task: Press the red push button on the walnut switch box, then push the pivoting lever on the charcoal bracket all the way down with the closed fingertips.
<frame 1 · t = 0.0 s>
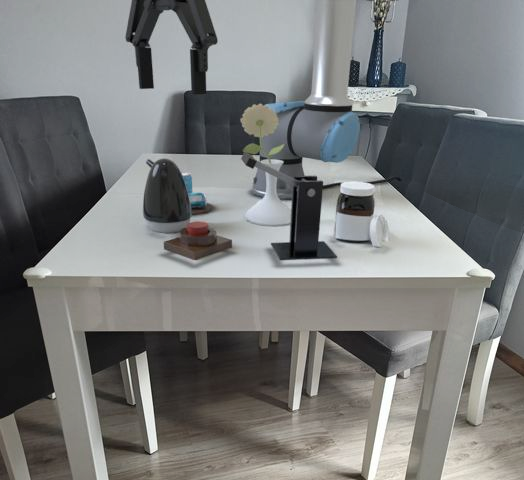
hand: (171, 91, 91), 28 cm above the table, tool pointing down, fingers open, 13 cm apart
teal cans on tray: (188, 209, 130), on the table
pivoting lever: (280, 175, 93), point 15 cm above the table, hinge at 25.0°
switch box: (198, 254, 101), on the table
flower in vase: (266, 224, 120), on the table
pump dispenser: (168, 233, 113), on the table
red push button: (197, 229, 99), point 5 cm above the table, slide at 0.1 cm
lever bracket: (302, 256, 102), on the table
spread jar: (359, 244, 110), on the table
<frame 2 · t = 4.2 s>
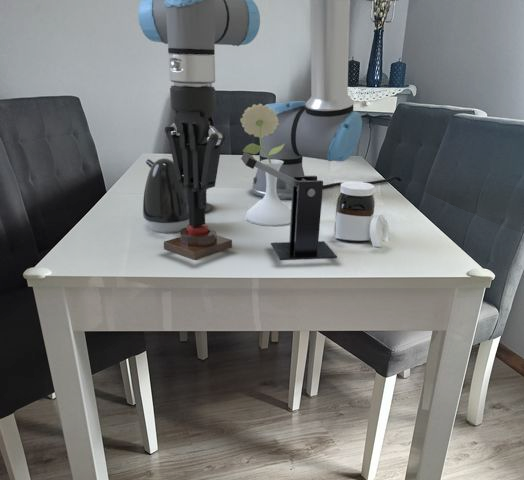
hand: (197, 224, 98), 6 cm above the table, tool pointing down, fingers closed
red push button: (197, 230, 99), point 5 cm above the table, slide at -0.1 cm, touching gripper
everything else where it was.
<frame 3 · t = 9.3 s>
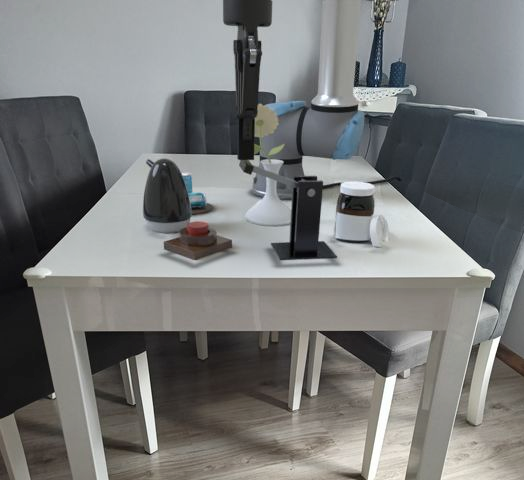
hand: (245, 159, 91), 18 cm above the table, tool pointing down, fingers closed
pivoting lever: (279, 178, 93), point 15 cm above the table, hinge at 19.8°, touching gripper
red push button: (197, 229, 99), point 5 cm above the table, slide at 0.1 cm
everything else where it was.
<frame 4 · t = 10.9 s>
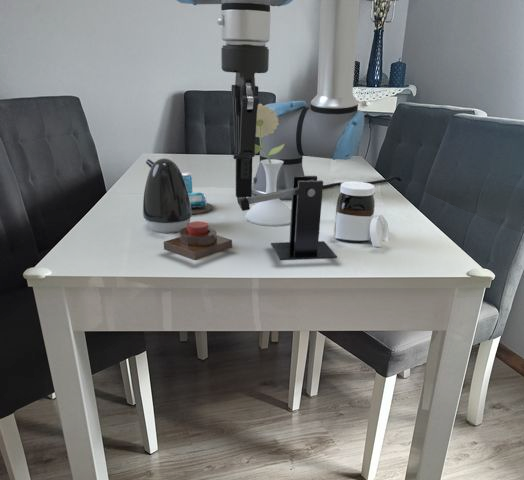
hand: (243, 196, 94), 12 cm above the table, tool pointing down, fingers closed
pivoting lever: (277, 195, 95), point 12 cm above the table, hinge at -10.6°, touching gripper
everything else where it was.
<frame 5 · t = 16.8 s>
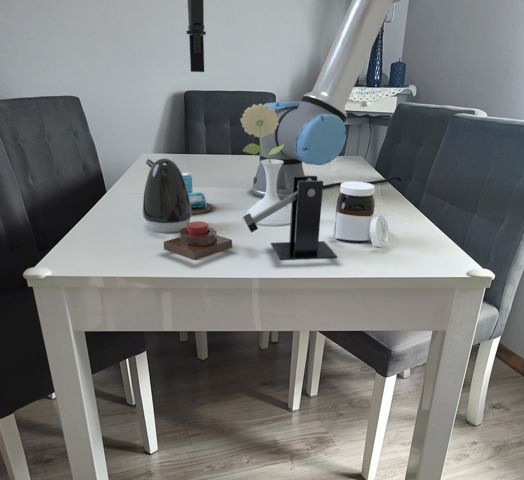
hand: (197, 71, 108), 30 cm above the table, tool pointing down, fingers closed
pivoting lever: (280, 204, 96), point 10 cm above the table, hinge at -30.0°
everything else where it was.
at the end: red push button pushed in 1.1 cm at the most during the clip, back to where it started at the end; red push button slide at 0.1 cm; pivoting lever at -30° (first picture: +25°) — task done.
